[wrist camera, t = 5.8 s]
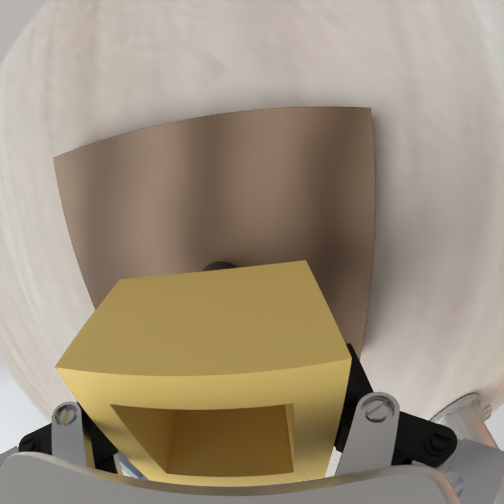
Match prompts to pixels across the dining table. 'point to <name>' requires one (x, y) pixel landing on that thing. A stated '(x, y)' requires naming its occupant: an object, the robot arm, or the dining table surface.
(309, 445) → the collar
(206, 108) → the dining table surface
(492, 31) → the dining table surface
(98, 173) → the board
